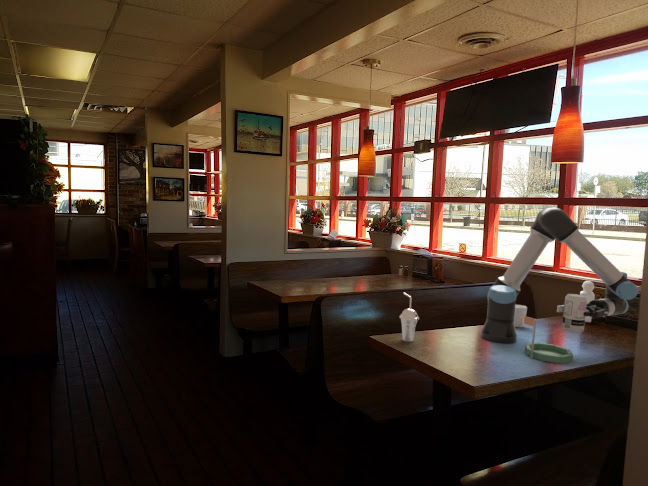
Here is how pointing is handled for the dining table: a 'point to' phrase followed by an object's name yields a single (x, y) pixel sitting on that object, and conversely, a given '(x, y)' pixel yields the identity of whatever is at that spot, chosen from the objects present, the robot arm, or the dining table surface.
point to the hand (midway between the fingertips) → (567, 311)
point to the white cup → (519, 315)
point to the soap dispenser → (588, 294)
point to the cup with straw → (408, 322)
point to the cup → (546, 348)
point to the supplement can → (574, 313)
